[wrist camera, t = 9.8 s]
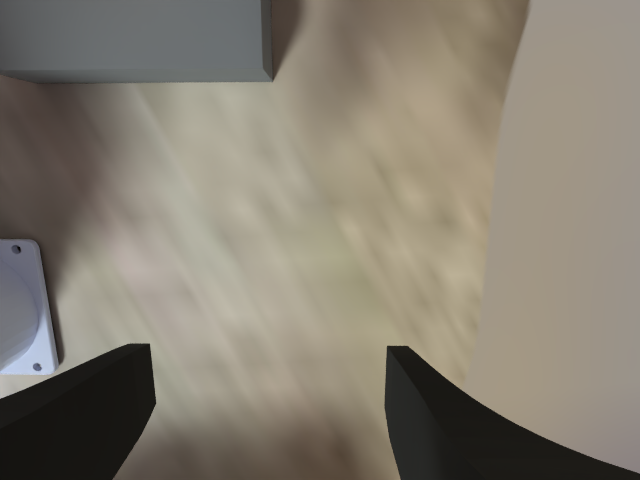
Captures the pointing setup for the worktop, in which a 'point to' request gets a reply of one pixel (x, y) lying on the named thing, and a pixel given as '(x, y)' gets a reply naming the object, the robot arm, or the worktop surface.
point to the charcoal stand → (136, 41)
